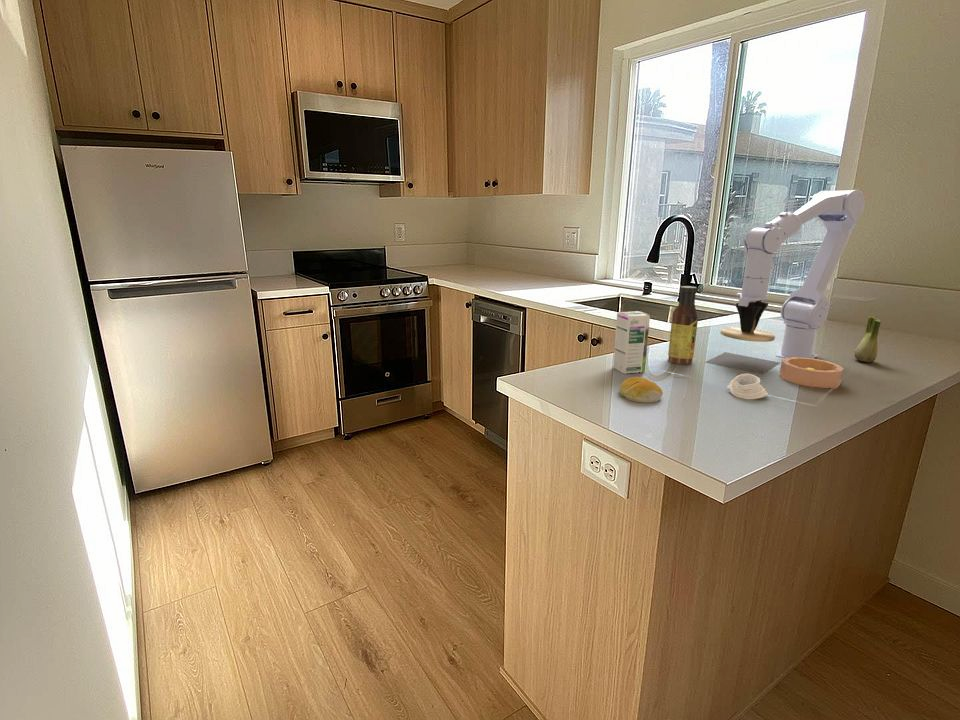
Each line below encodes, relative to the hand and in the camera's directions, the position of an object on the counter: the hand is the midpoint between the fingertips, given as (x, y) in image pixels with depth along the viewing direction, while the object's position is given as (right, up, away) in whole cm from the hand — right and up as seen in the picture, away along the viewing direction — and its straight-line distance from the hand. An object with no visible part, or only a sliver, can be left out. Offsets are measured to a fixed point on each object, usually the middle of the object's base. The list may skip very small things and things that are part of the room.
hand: (748, 330), depth 134 cm
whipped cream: (-11, -15, -20) cm, 27 cm away
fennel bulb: (+34, -8, +6) cm, 36 cm away
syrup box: (-32, -10, -4) cm, 34 cm away
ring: (+9, -12, -10) cm, 18 cm away
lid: (0, -1, 0) cm, 1 cm away
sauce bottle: (-16, -8, +3) cm, 19 cm away
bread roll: (-34, -16, -22) cm, 44 cm away
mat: (0, -8, +3) cm, 9 cm away
